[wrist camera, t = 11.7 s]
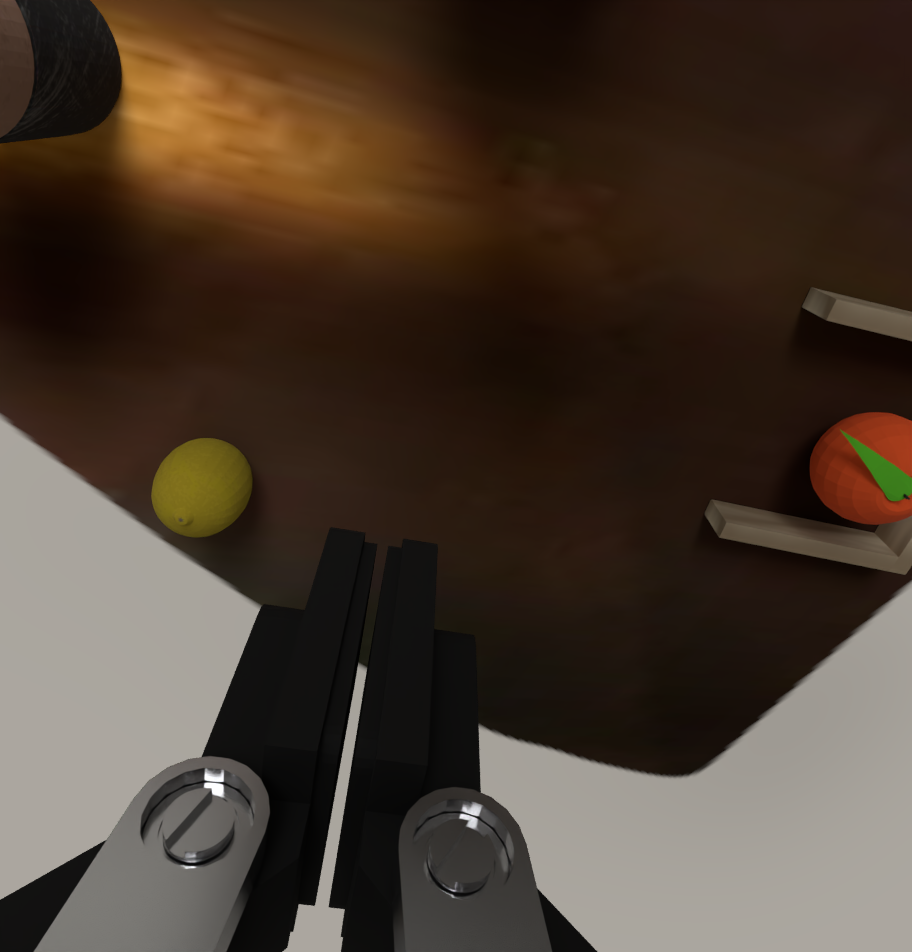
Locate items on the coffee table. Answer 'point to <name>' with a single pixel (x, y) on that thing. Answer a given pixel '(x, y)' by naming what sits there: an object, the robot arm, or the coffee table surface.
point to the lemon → (202, 487)
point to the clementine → (865, 468)
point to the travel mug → (55, 68)
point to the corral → (878, 550)
